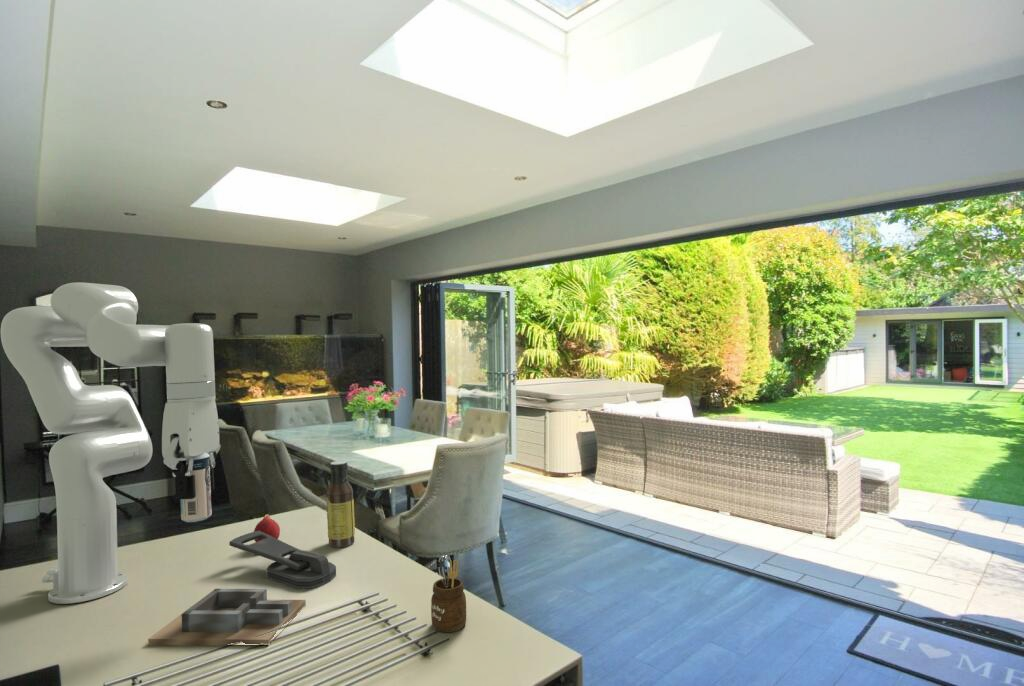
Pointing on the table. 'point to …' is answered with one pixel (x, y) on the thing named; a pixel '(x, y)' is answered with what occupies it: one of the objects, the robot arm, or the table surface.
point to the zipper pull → (288, 561)
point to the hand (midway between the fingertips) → (195, 493)
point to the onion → (268, 527)
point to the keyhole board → (229, 619)
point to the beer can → (198, 491)
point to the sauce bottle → (340, 507)
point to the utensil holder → (448, 602)
